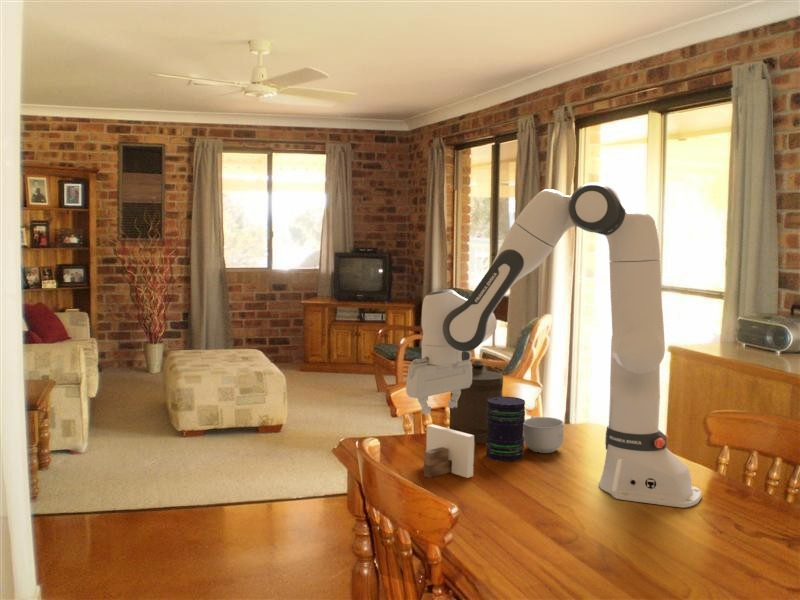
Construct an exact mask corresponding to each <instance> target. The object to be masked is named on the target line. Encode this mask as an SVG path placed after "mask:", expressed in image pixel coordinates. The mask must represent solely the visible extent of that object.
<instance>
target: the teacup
mask: <svg viewBox="0 0 800 600" xmlns="http://www.w3.org/2000/svg"><path fill="white" fill-rule="evenodd" d="M564 424H565V422H564V421H563V420H562V419H559V418H555V417H549V416H537V415H536V416H535V415H533V416H531V417H530V418H526V419H525V420H524V423H523V437H524V445H526V447H527V448H529V450H531V451H532V452H534V453H537V452H539V454H550V453H554V452H556V451H557V450H558V449H559V448H560V447H561V446H562V445H563V442H564Z"/></svg>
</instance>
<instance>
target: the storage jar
mask: <svg viewBox="0 0 800 600" xmlns="http://www.w3.org/2000/svg"><path fill="white" fill-rule="evenodd" d="M525 405H526V400H524V399H523V398H519V397H514V396H503V395H502V396H501V397H491V398H489V399H488V405H487V408H488V409H487V421H488V434H487V435H486V444H485V447H486V448H485V450H486V453H485V457H486V456H487V457H488V458H490V459H489V460H491V459H493V460H492V461H494V460H497V461H496V462H500V461H516V462H518V461H517V460H520V461H522V460H523V459H522V458H524V449H525V442H524V431H523V423H524V420H526V419H525V416H526V407H525ZM487 457H486V458H487ZM488 458H487V459H488ZM521 459H522V460H521Z"/></svg>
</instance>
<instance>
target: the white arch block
mask: <svg viewBox="0 0 800 600" xmlns="http://www.w3.org/2000/svg"><path fill="white" fill-rule="evenodd" d="M440 447H444V448H447V449H448V460H451V461H452V472H451V474H454V475H457V476H460V477H463V478H466V479H468V478H471V477H474V466H473V463H474V435H471V434H467V433H463V432H459V431H456V430H452V429H449V428H448V427H444V426H440V425H436V424H433V423H432V424H428V425H426V447H425V448H426V450H425V451H429V450H433V449H437V448H440Z"/></svg>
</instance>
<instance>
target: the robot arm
mask: <svg viewBox="0 0 800 600" xmlns="http://www.w3.org/2000/svg"><path fill="white" fill-rule="evenodd" d="M621 203H622V202H621V199H620V198H619V196H618V194H617V192H616V191H615V190H614V189H613V188H612V187H610V186H609V185H607V184H604V183H600V182H588V183H584V184H582V185H581V186H579V187H577V188H576V189H575V190H574V192H573V193H572V195H566V194H564V193H562V192H560V191H559V190H555V189H548V188H546V189H545V188H544V189H543V190H541V191H539V192H538V193H537V194H536V195H535V196H533V198H532V199H531V200H530V201H529V202H528V203H527V205H526V206H525V207H524V208H523V209H522V210H521V212H520V213H519V214H518V216H517V218H516V219H515V221H514V222H513V223H512V225H511V227H510V228H509V230H508V232H507V233H506V236H505V238H504V240H503V242H502V244H501V246H500V248H499V250H498V252H497V254H496V255H495V258H494V259H493V262H492V264H491V266H490V267H489V268H488V270H487V271H486V273H485V274H484V276H483V278H481V280H480V282H479V283H478V284H477V286H476V287H475V288H474V290H473V292H472V293H471V294H470V296H469V297H468V298H465V297H464V296H462V295H460V294H458V293H457V292H456V291H455V290H453V289H449V288H447V289H441V290H437V291H432V292H430V293H427V294H426V295H425V296H424V297H423V302H422V308H421V330H422V332H423V333H422V334H423V335H422V340H421V358H416V359H413V360H412V361H411V362H410V364H409V365H408V371H407V377H406V385H405V393H406V395H407V396H408V398H413V399H417V401H418V403H419V405H420V407H421V413H422V415H429V414H431V413H432V411H431V410H432V407H431V406H429V405H428V402H427V401H429V397H430V396H436V395H440V394H446V393H450V394H451V393H453V394H452V397H451V396H450V399H449V400H448V408H449V409H450V408H457V401H458V399H459V397H460V394H461V389H466V388H469V387H470V386H471V384H472V368H473V367H472V362H471V360H472V358H473V352H472V351H473V350H475V349H477V348H478V347H479V346H480V345H481V344H483V343H484V342H486V341H487V340H489V339H490V338H491V336H493V335H494V333H495V331H496V328H497V317H496V314H495V312H494V311H495V309H496V308H497V307H498V305H499V303H500V302H501V301H502V299H503V298H504V296H505V295H506V294H507V292H508V291H509V290H510V288H512V287H513V286H514V285H515V284H516V283H517V282H518V281H519V280H520V279H522V278H523V277H525V276H526V275H528V274H530V273H532V272H533V271H534V270H535V271H536V269H537V268H538V267H539V266H540V265H542V263H543V262H544V261H546V259H547V258H548V256H549V255H550V254H551V253H552V251H553V250H554V248H555V247H556V246H557V245H558V242H560V240H561V238H562V237H563V235H565V233H566V232H567V231H568V230H570V229H571V228H574V227H575V228H576V227H577V228H580V229H581V230H584V231H586V232H589V233H596V234H598V235H603V236H605V237H606V239H607V243H608V251H609V252H608V253H609V255H608V256H609V257H608V259H609V285H610V293H609V294H610V307H611V327H612V328H611V329H612V332H611V333H612V335H611V342H610V344H611V345H610V376H609V380H610V381H609V410H608V411H609V413H608V425H607V426H606V431H605V450H606V453H605V458H604V459H605V460H604V465H603V470H602V474H601V476H600V479H599V483H598V486H599V488H600V489H601V490H602V491H604V492H606V493H608V494H610V495H611V496H612V498H614V499H617V500H623V501H629V502H630V501H631V502H637V503H645V504H653V505H659V506H668V507H675V508H684V509H685V508H690V507H693V506H695V505H698V503H699V502H700V501H701V500H702V490H701V489H700V488H698V487H697V486H693V485H692V475H691V472H690V468H689V466H687V465H686V464H685V463H684V462H683V461H682V460H680V459H679V458H678V457H677V456H676V455H675V454H674V453H673V452H672V451H671V450H670V449H668V447H667V444H668V439H669V438H668V434H669V433H665V434H664V433H663V432H662V431H660V429H659V423H660V402H661V389H660V388H661V387H660V386H661V385H660V364H661V363H662V361H663V360H664V356H665V352H666V348H665V347H666V346H665V330H664V327H665V325H664V315H663V314H664V313H663V301H662V281H661V280H662V279H661V273H662V272H661V251H660V250H661V249H660V242H659V235H658V229H657V227H656V225H657V224H656V222H655V219H654V217H653V216H652V215H650V214H648V213H646V212H644V211H640V210H627V209H626V208H624V206H623V205H622V204H621Z"/></svg>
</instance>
